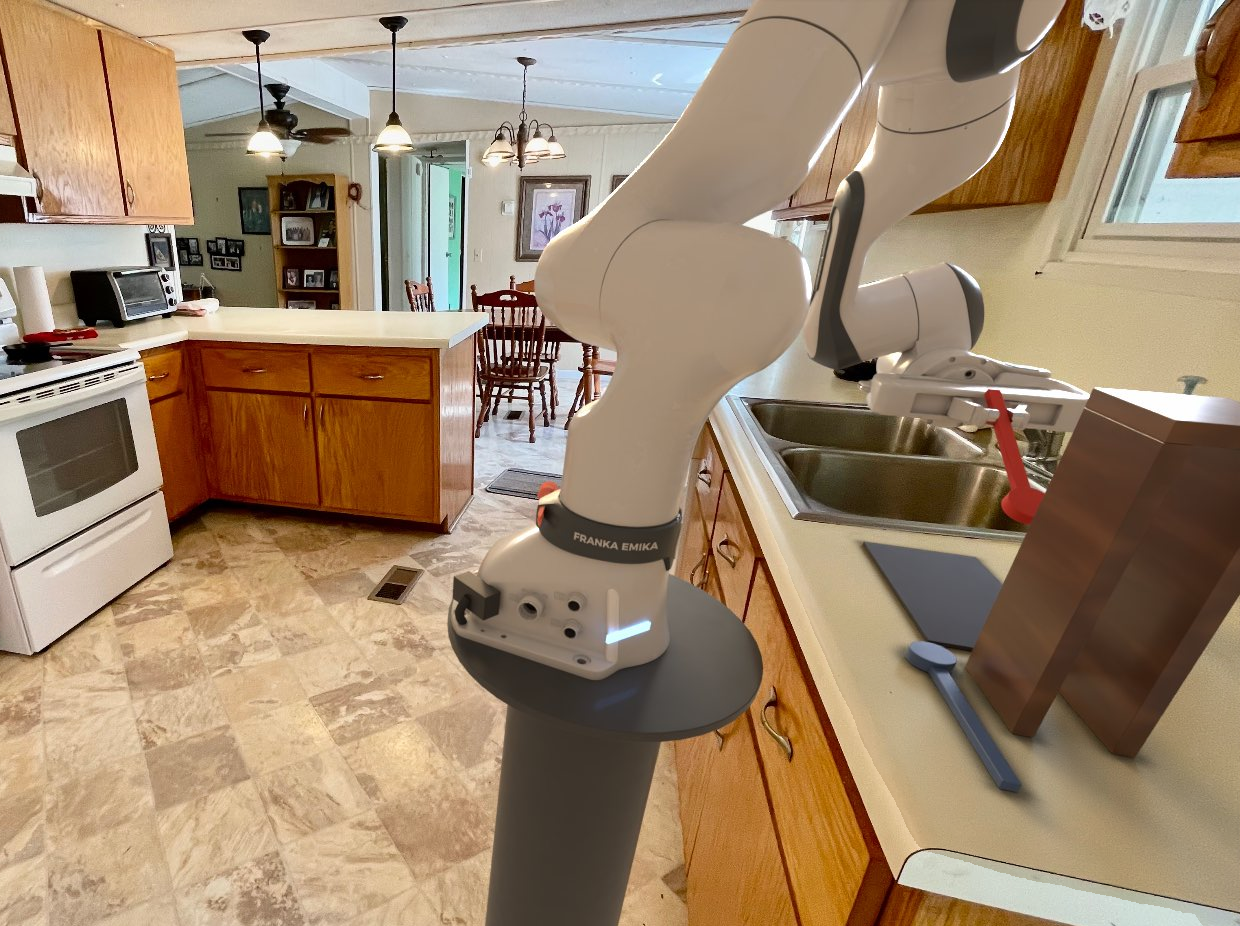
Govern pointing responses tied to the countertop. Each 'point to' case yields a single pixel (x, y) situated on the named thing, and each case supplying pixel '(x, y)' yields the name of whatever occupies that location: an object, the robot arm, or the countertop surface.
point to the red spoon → (1013, 466)
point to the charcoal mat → (939, 591)
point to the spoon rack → (1120, 568)
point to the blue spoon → (962, 709)
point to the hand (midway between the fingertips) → (1004, 420)
